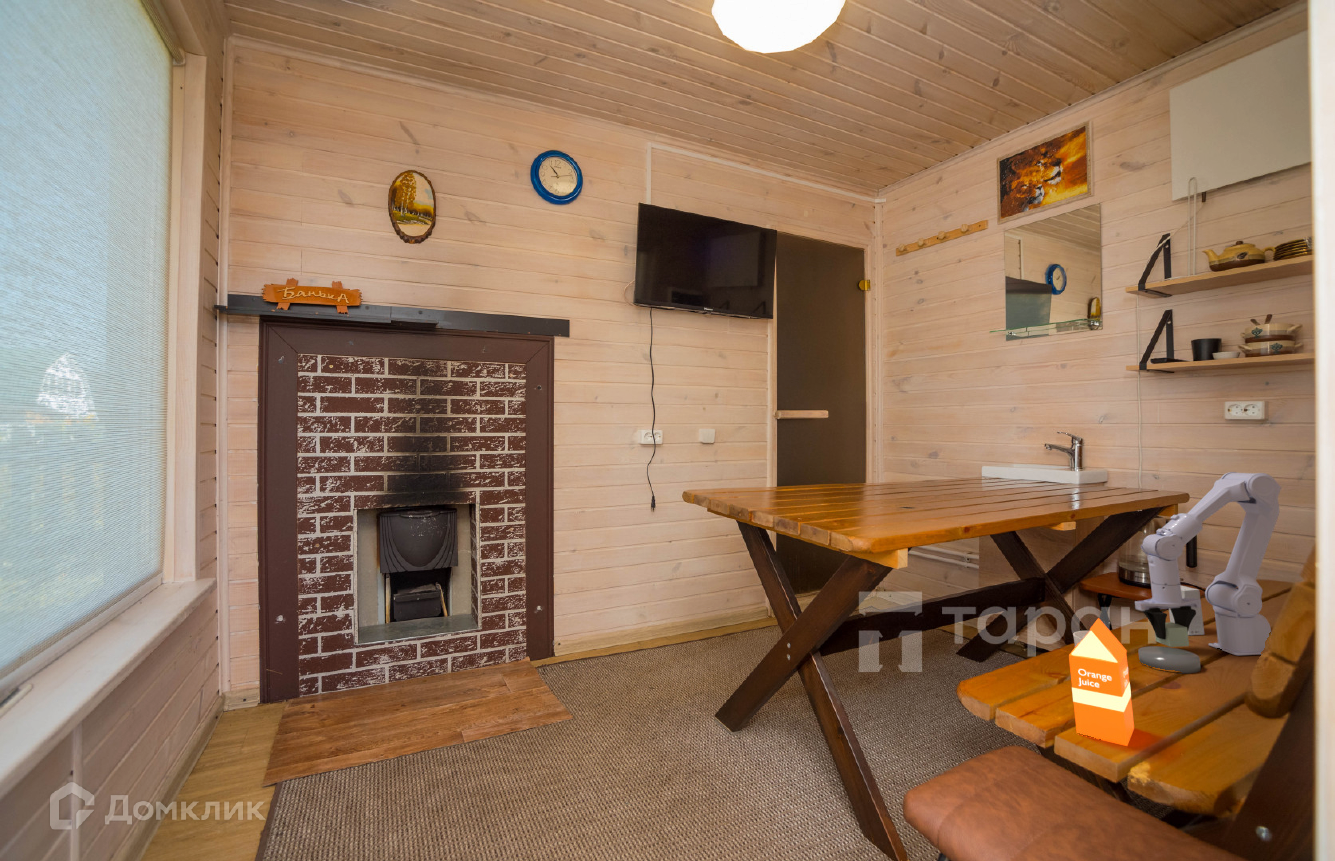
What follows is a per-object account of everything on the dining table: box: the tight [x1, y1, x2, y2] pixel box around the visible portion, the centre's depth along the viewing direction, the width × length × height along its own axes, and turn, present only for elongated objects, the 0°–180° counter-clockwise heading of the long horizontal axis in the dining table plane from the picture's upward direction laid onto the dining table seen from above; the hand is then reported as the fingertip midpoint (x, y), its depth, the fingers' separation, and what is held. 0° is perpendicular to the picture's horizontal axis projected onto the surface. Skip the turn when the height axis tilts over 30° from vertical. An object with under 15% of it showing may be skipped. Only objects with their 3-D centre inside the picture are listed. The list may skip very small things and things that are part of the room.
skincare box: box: [1168, 585, 1205, 636], centre depth 158 cm, size 6×4×12 cm
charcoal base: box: [1138, 645, 1202, 674], centre depth 137 cm, size 11×11×2 cm
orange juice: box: [1068, 617, 1135, 747], centre depth 109 cm, size 8×9×20 cm
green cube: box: [1154, 621, 1190, 648], centre depth 145 cm, size 4×4×4 cm
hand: (1171, 637), depth 145 cm, fingers closed on green cube, 4 cm apart
